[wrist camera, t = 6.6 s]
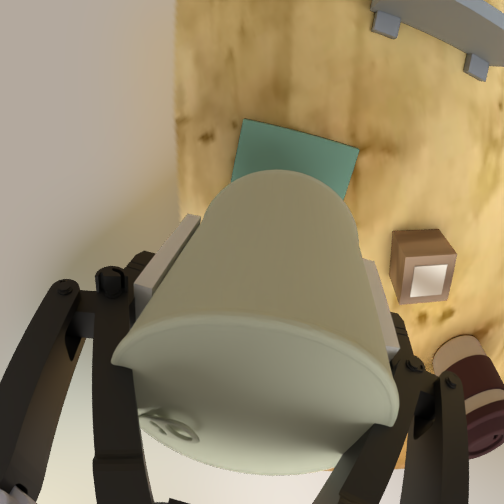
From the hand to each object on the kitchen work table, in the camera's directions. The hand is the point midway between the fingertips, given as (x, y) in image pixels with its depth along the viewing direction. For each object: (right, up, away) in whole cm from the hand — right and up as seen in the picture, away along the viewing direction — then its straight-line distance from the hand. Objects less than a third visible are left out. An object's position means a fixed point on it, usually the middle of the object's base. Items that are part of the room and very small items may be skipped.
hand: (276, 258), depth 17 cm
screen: (+14, +19, +1) cm, 24 cm away
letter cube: (+15, 0, +12) cm, 19 cm away
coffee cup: (+26, -13, +18) cm, 34 cm away
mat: (+2, +6, +11) cm, 13 cm away
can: (0, +1, +1) cm, 2 cm away
